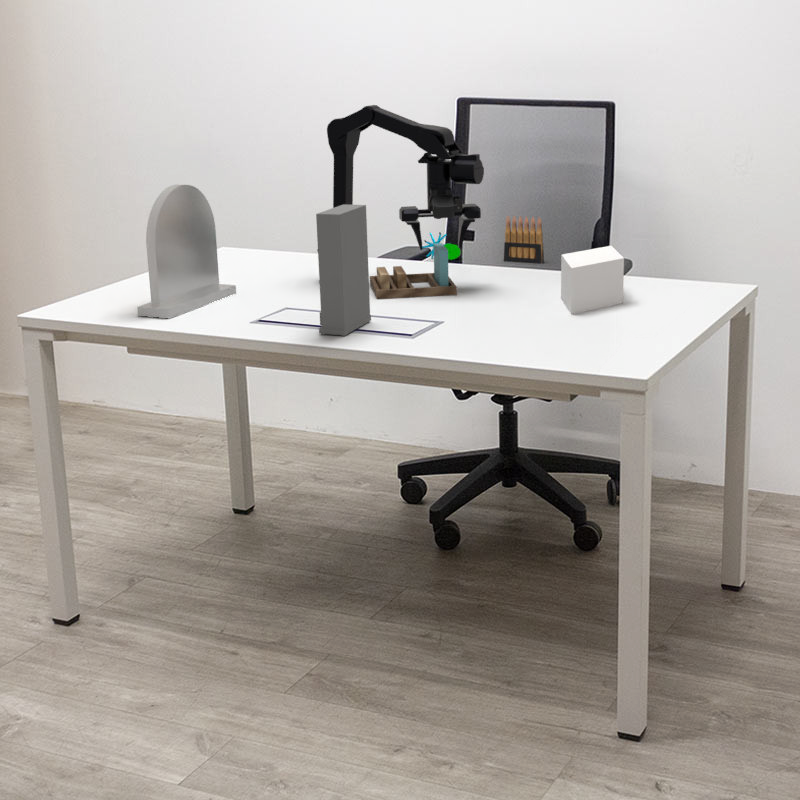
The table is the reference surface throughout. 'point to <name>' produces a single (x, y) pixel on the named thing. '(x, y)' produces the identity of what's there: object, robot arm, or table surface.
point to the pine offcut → (382, 278)
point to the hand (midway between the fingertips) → (440, 248)
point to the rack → (410, 290)
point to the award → (182, 254)
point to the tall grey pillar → (343, 269)
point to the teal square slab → (441, 264)
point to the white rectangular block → (592, 279)
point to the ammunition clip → (523, 242)
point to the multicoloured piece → (452, 249)
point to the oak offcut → (399, 277)
